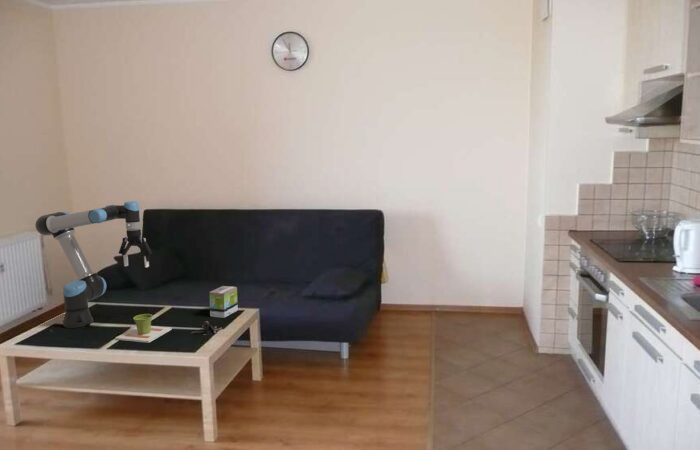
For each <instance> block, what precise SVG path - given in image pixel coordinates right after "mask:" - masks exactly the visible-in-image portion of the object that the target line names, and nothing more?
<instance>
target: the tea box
mask: <svg viewBox="0 0 700 450" xmlns="http://www.w3.org/2000/svg"><path fill="white" fill-rule="evenodd" d="M238 306H239V304H238V287H237V286H230V285H229V286H228V285H226V286H225V285H221V286H220V287H217V288H216V289H213V290H211V291H209V309H210V310H209V315H210V317H212V318H222V319H225V318H226V317H228V316H230V315H231V314H234V313H236V312H237V311H239V310H238V309H239V307H238Z"/></svg>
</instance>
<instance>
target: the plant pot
mask: <svg viewBox="0 0 700 450" xmlns="http://www.w3.org/2000/svg"><path fill="white" fill-rule="evenodd" d="M152 318H153V314H151V313H144V314H143V313H142V314H141V313H140V314H138V315H135V316H133V318H132V319H133V320H134V322H135V327H137V330H138V333H139V334H145V333H149V332H150V331H151V326H152V320H153V319H152Z"/></svg>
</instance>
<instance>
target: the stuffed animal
mask: <svg viewBox="0 0 700 450" xmlns="http://www.w3.org/2000/svg"><path fill="white" fill-rule="evenodd" d="M201 328H202V329H203V330H200V331H191V334H203V336H211V335H215V334H217V332H219V331H221V330H222V329H223V327H219V328H217V326H213V325H212V324H210V322H209V321H208V320H207V321H206V320H205V321H204V323H203V325H202V326H201Z"/></svg>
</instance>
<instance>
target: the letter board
mask: <svg viewBox="0 0 700 450" xmlns="http://www.w3.org/2000/svg"><path fill="white" fill-rule="evenodd" d="M172 329H173V328H172V327H169V326H168V327H165V326H156V325H154V326H153V325H151V331H150V332H149V333H145V334H139V333H138V330H137V326H135V327H133V328H131V329H130V330H128V331H125V332H124V333H122V334H120V335H118V336H115V338H114V339H115V340H117V341H127V342H137V343H147V344H148V343H151V342H152V341H154V340H156V339H158V338H160V337H161V336H163V335H165V334H167V333H168V332H170V331H172Z"/></svg>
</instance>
